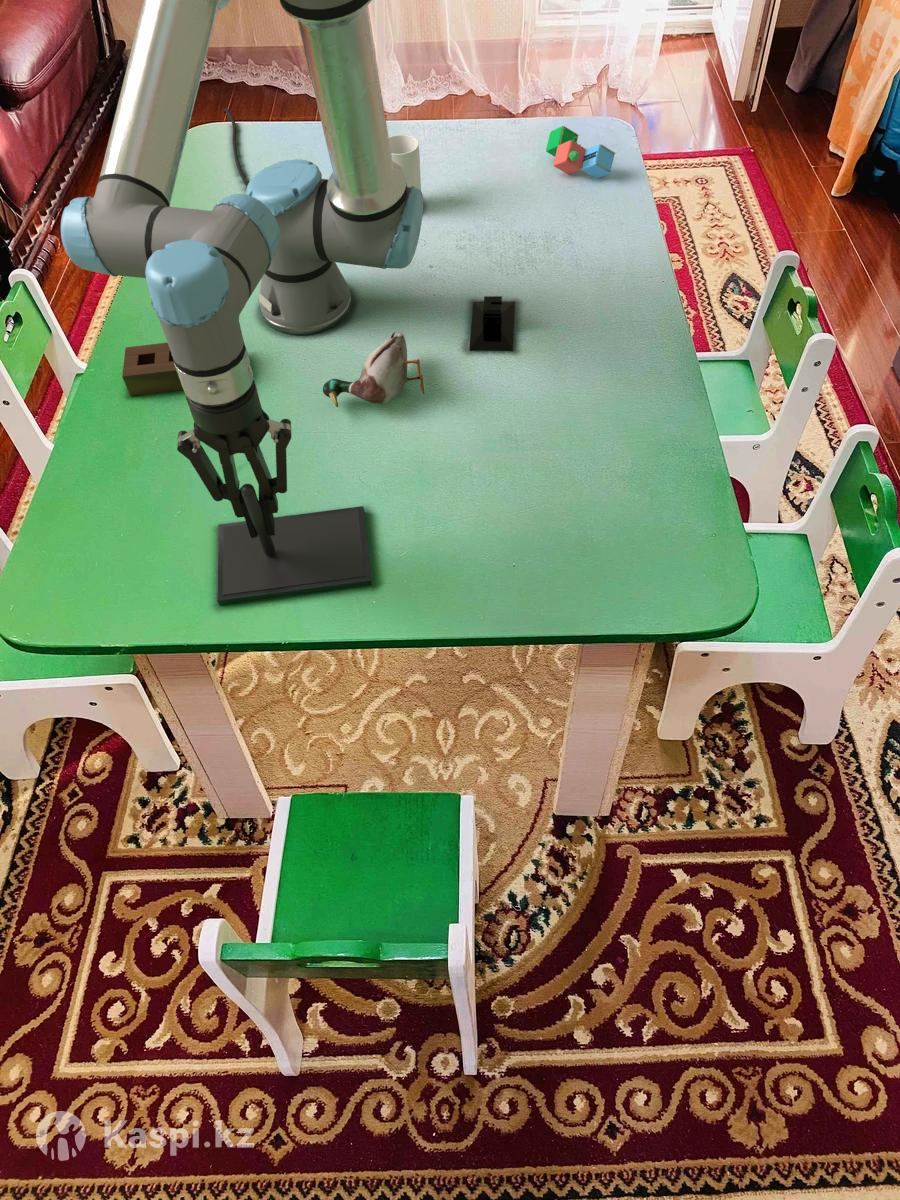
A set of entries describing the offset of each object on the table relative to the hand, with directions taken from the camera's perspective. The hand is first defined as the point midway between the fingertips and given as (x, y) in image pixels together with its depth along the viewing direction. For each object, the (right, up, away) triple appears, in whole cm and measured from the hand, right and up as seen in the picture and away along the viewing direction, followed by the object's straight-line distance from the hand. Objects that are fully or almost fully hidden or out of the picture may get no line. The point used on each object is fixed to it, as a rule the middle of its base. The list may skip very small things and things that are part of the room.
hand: (262, 528), depth 118 cm
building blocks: (+49, +74, +59) cm, 106 cm away
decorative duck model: (+13, +24, +25) cm, 37 cm away
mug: (+14, +63, +54) cm, 84 cm away
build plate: (+31, +35, +32) cm, 57 cm away
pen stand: (-18, +26, +28) cm, 43 cm away
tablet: (+3, -3, +6) cm, 7 cm away
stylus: (0, -3, +4) cm, 5 cm away
